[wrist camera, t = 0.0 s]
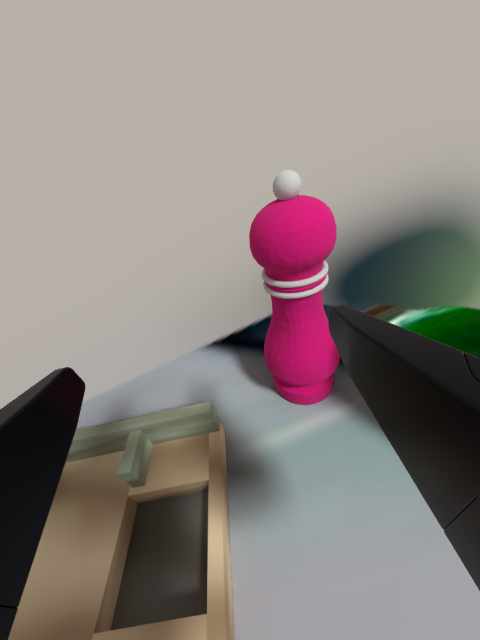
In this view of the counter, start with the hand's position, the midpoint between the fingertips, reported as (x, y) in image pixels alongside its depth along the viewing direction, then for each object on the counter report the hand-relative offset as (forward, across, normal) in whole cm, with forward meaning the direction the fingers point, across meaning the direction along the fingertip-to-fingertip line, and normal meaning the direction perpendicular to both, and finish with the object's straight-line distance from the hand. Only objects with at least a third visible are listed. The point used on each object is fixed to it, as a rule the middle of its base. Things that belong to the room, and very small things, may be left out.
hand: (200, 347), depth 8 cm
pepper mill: (+11, -6, +17) cm, 21 cm away
